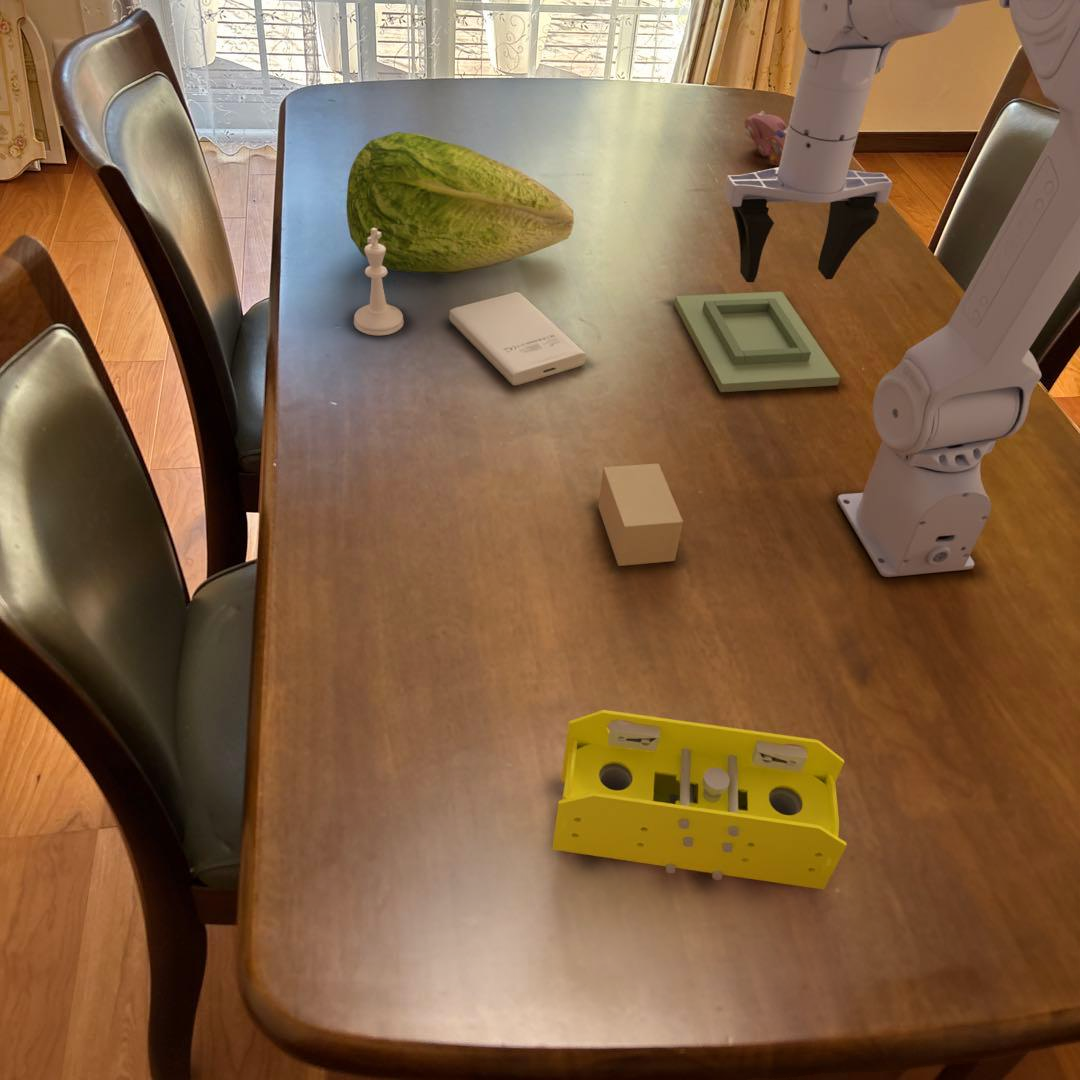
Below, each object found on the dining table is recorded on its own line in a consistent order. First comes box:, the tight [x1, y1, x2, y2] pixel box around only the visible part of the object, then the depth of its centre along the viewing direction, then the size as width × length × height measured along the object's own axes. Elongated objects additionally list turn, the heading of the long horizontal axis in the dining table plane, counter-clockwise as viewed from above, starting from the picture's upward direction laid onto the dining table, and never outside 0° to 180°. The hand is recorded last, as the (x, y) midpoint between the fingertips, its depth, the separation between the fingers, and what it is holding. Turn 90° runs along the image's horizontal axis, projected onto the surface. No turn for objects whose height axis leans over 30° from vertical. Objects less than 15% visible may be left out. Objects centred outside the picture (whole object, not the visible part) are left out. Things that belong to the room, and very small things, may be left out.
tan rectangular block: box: [597, 463, 684, 567], centre depth 80 cm, size 7×5×4 cm, turn 11°
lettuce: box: [346, 131, 575, 275], centre depth 108 cm, size 15×24×14 cm, turn 99°
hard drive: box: [448, 291, 586, 386], centre depth 100 cm, size 2×8×12 cm
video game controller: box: [744, 110, 788, 167], centre depth 135 cm, size 10×5×7 cm, turn 25°
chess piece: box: [353, 228, 405, 337], centre depth 99 cm, size 5×5×10 cm
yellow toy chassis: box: [551, 709, 848, 890], centre depth 59 cm, size 16×6×8 cm, turn 83°
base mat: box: [673, 291, 841, 393], centre depth 103 cm, size 16×12×2 cm
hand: (786, 275), depth 94 cm, fingers open, 7 cm apart
